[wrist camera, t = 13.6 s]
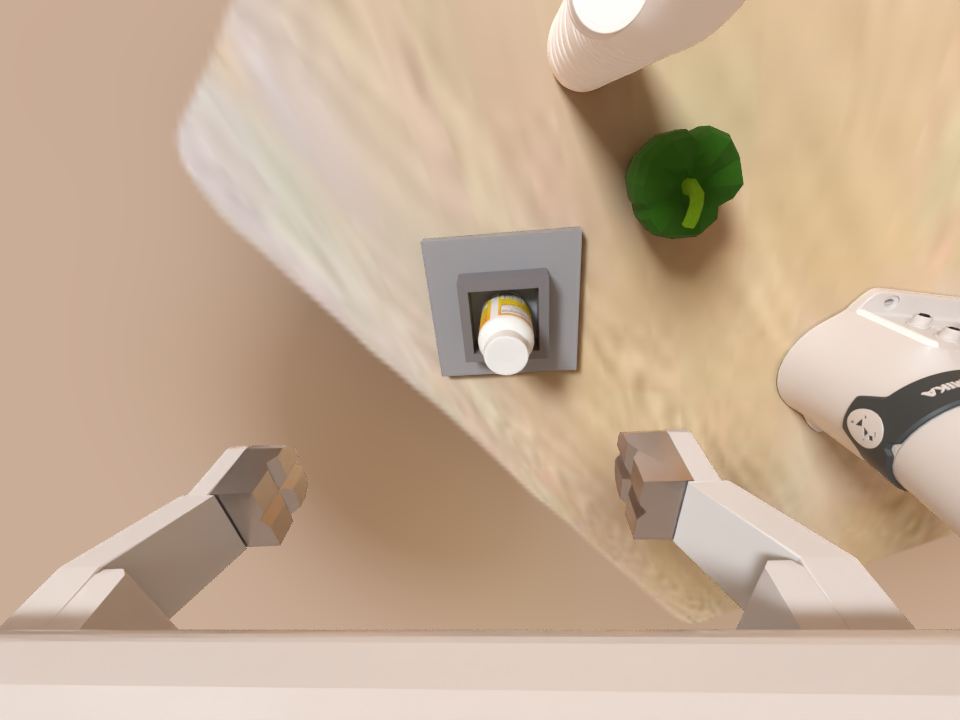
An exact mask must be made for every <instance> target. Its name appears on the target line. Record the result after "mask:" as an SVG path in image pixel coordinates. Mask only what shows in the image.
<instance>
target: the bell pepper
mask: <svg viewBox="0 0 960 720" xmlns="http://www.w3.org/2000/svg"><path fill="white" fill-rule="evenodd" d="M625 180H626V187H627V194H628V198H629V200H630V201H631V202H632V207H633V211H634V214H635V216H636V217H637V219H638V220H639V221H640V222H641V223H642V225H643V226H644V227H645V228H646V230H648V231H649V232H650V233H652V234H653V235H656V236H661V237H666V238H671V239H675V238H686V237H696V236H697V235H699V234H701V233H702V232H703V231H704V230H705V229H706V228H707V227H708V226H710V225H711V224H712V223H713V222H714V221H715V220H716V219H717V214H718V206H720V205H721V204H723V203H725V202H727V201H729V200H731V199H733V198H734V196H735V195H736V193H737V192H738V191H739V189H740V188H741V187H742V185H743V177H742V170H741V163H740V157H739V154H738V152H737V149H736V147H735V145H734V143H733V141H732V139H731V137H730V135H729V134H728V133H725V132H723V131H721V130H718V129H716V128H714V127H711V126H699V127H697V128H694V129H692V130H690V131H688V130H687V129H679V130H674V131H670V132H666V133H662V134H659V135H655V136H654V137H653V138H651V139H650V140H649V141H648V142H647V143H646V144H645V145H644V146H643V147H642V148H641V149H640V150H639V151H638V152H637V153H636V154H635V155H634V156H633V158H632V160H631V163H630V165H629V168H628V171H627V174H626V176H625Z"/></svg>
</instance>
